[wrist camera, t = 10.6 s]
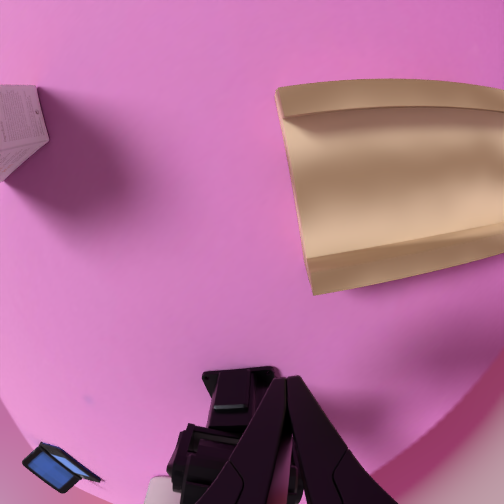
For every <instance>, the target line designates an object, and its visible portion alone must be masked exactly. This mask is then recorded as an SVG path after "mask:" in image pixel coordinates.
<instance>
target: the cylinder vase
mask: <svg viewBox="0 0 504 504" xmlns="http://www.w3.org/2000/svg"><path fill="white" fill-rule="evenodd" d="M172 486H173V483H172V482H171V477H169V476H156V477H153V478H152V479H151V480H150V483H149V486H148V490H147V493H146V497H145V501H144V504H180V498H181V493H176V492H173V489H172Z"/></svg>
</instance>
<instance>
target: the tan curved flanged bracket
mask: <svg viewBox="0 0 504 504" xmlns="http://www.w3.org/2000/svg"><path fill="white" fill-rule="evenodd" d="M275 102H276V106H277V111H278V116H279V120H280V125H281V130H282V135H283V140H284V145H285V150H286V155H287V160H288V166H289V171H290V177H291V182H292V188H293V193H294V199H295V205H296V211H297V217H298V224H299V230H300V236H301V243H302V250H303V256H304V263H305V266H306V270H307V274H308V278H309V282H310V284H311V288H312V292H313V296H315V295H320V294H326V293H332V292H337V291H342V290H348V289H353V288H358V287H363V286H368V285H373V284H378V283H383V282H388V281H392V280H397V279H402V278H406V277H411V276H415V275H420V274H424V273H428V272H432V271H437V270H441V269H445V268H449V267H453V266H457V265H461V264H465V263H468V262H472V261H476V260H480V259H483V258H487V257H491V256H494V255H498V254H501V253H504V90H502V89H497V88H491V87H485V86H479V85H473V84H465V83H457V82H447V81H436V80H420V79H357V80H340V81H328V82H318V83H309V84H300V85H293V86H286V87H280V88H278V90H276V92H275Z"/></svg>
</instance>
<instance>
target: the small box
mask: <svg viewBox="0 0 504 504" xmlns="http://www.w3.org/2000/svg"><path fill="white" fill-rule="evenodd" d="M48 141H49V137H48V133H47V130H46V126H45V122H44V118H43V115H42V111H41V106H40V102H39V98H38V93H37V88H36V86H35V85H0V182H3V181H4V180H5V179H6V178H7V177H8V176H9V175H10V174H11V173H12V172H13V171H14V170H15V169H16V168H18V167H19V166H20V165H21V164H22V163H23V162H24V161H25V160H27V159H28V158H29V157H30V156H31V155H32V154H34V153H35V152H36V151H37V150H38V149H40V148H41V147H42V146H43V145H45V144H46V143H47V142H48Z"/></svg>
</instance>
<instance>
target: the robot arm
mask: <svg viewBox="0 0 504 504" xmlns="http://www.w3.org/2000/svg"><path fill="white" fill-rule="evenodd" d="M267 371H269V372H267ZM206 376H207V377H206ZM202 380H203V382H204V384H205V386H206V388H207V390H208V392H209V394H210V396H211V398H212V400H211V405H210V410H209V415H208V421H207V426H206V428H205V427H200V426H195V424H190V423H188V426H187V429H186V430H184V431H182V432H180V434H179V438H178V442H177V445H176V448H175V450H174V453H173V455H172V457H171V459H170V461H169V463H168V465H167V470H166V471H167V473H168V474H169V476H170V477H171V482H172V483H173V486H172V489H173V492H176V493H181V498H180V504H298V503H299V502H300V500H301V498H302V495H303V490H304V491H305V496H306V501H307V504H398V503H397V502H396V501H395V500H394V499H393V498H392V497H391V496H390V495H388V493H386V491H384V490H383V489H382V488H381V487H380V486H379V485H378V484H377V483H376V482H375V481H374V480H373V478H372V477H371V476H370V475H369V474H368V473H367V472H366V471H365V470H364V468H363V467H362V466H361V464H360V463H359V462H358V460H357V459H356V458H355V456H354V455H353V454H352V452H351V451H350V450H349V449H348V447H347V445H346V444H345V442H344V441H343V439H342V438H341V436H340V435H339V433H338V432H337V430H336V429H335V428H334V426H333V425H332V423H331V422H330V420H329V419H328V417H327V416H326V414H325V413H324V411H323V410H322V408H321V407H320V405H319V404H318V402H317V401H316V399H315V398H314V396H313V395H312V393H311V392H310V390H309V389H308V387H307V386H306V384H305V383H304V381H303V380H302V378H301V377H300V376H299V375H296V376H289V377H287V379H286V377H280V378H275V374H274V369H273V368H272V367H269V366H266V367H257V368H247V369H236V370H223V371H208V372H204V373H203V374H202ZM292 435H293V437H292Z"/></svg>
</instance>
